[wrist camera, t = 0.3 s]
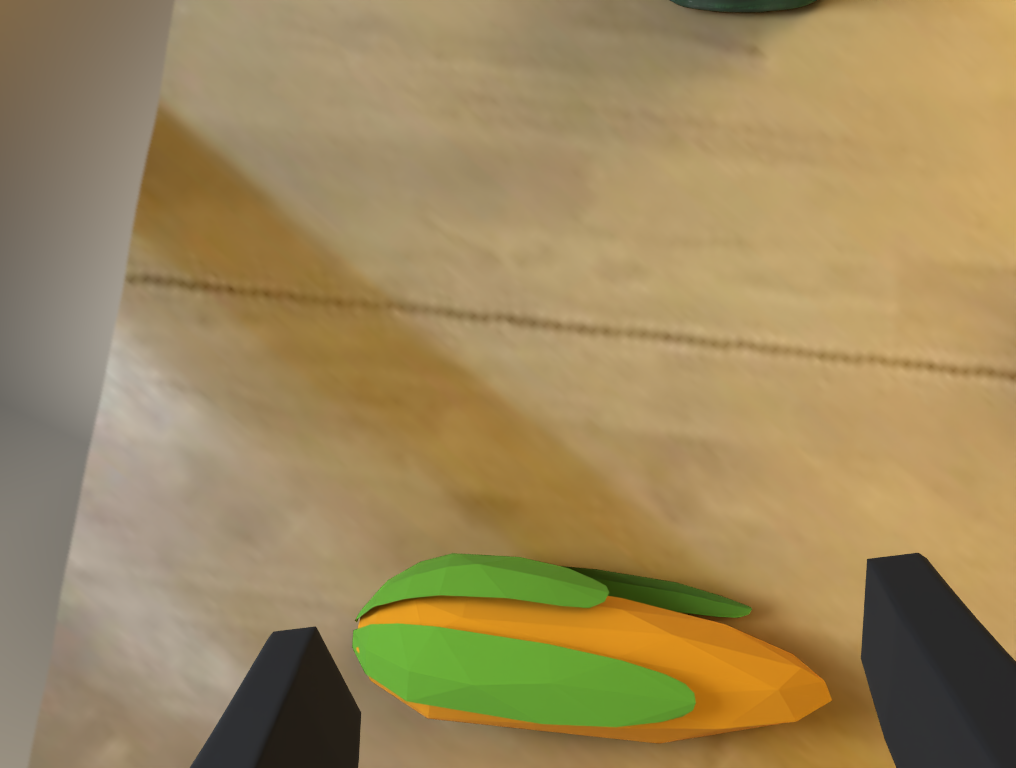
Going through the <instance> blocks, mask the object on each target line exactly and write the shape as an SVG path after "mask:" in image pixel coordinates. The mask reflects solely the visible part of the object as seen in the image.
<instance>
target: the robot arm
mask: <svg viewBox="0 0 1016 768" xmlns="http://www.w3.org/2000/svg"><path fill="white" fill-rule="evenodd" d="M861 660H862V664H863V667H864V671H865V674H866V678H867V681H868V684H869V688H870V691H871V695H872V698H873V702H874V705H875V709H876V712H877V715H878V718H879V722H880V725H881V728H882V732H883V735H884V738H885V741H886V743H887V746H888V748H889V751H890V753H891V756H892V758H893V760H894V763H895V765H896V768H1016V661H1015V660H1014V659H1013V658H1012V657H1011V656H1010V655H1009V654H1008V653H1007V652H1006V651H1005V649H1004V648H1003V647H1002V646H1001V645H1000V644H999V643H998V642H997V641H996V639H995V638H994V637H993V636H992V635H991V634H990V633H989V632H988V631H987V629H986V628H985V627H984V626H983V625H982V624H981V623H980V622H979V620H978V619H977V618H976V617H975V616H974V615H973V614H972V612H971V611H970V610H969V609H968V608H967V607H966V605H965V604H964V603H963V602H962V601H961V600H960V598H959V597H958V596H957V595H956V594H955V592H954V591H953V590H952V589H951V588H950V586H949V585H948V584H947V583H946V582H945V580H944V579H943V578H942V577H941V576H940V574H939V573H938V572H937V571H936V569H935V568H934V567H933V566H932V564H931V563H930V562H929V561H928V559H927V558H925V557H924V556H922V555H921V554H919V553H913V554H905V555H896V556H888V557H880V558H872V559H867V570H866V586H865V602H864V619H863V635H862V651H861ZM360 725H361V712H360V710H359V708H358V706H357V704H356V702H355V700H354V698H353V696H352V694H351V693H350V691H349V689H348V687H347V685H346V683H345V681H344V679H343V677H342V675H341V673H340V672H339V670H338V668H337V666H336V664H335V662H334V660H333V658H332V656H331V654H330V652H329V651H328V649H327V647H326V645H325V643H324V641H323V639H322V637H321V635H320V633H319V632H318V630H317V628H316V627H308V628H300V629H292V630H284V631H276V632H273V633H272V634H271V635H270V637H269V638H268V640H267V641H266V643H265V645H264V646H263V648H262V650H261V651H260V653H259V655H258V656H257V658H256V660H255V661H254V663H253V665H252V667H251V668H250V670H249V672H248V673H247V675H246V677H245V678H244V680H243V682H242V683H241V685H240V687H239V689H238V690H237V692H236V694H235V695H234V697H233V699H232V700H231V702H230V704H229V705H228V707H227V709H226V710H225V712H224V714H223V715H222V717H221V719H220V720H219V722H218V724H217V725H216V727H215V728H214V730H213V732H212V733H211V735H210V737H209V738H208V740H207V741H206V743H205V745H204V746H203V748H202V749H201V751H200V753H199V754H198V756H197V757H196V759H195V760H194V762H193V764H192V765H191V767H190V768H358V762H359V745H360Z"/></svg>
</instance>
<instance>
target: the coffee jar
mask: <svg viewBox="0 0 1016 768" xmlns="http://www.w3.org/2000/svg"><path fill="white" fill-rule="evenodd" d="M670 1H672V2H674V3H676V4H678V5H681V6H683V7H688V8H695V9H701V10H709V11H721V12H763V11H776V10H785V9H793V8H799V7H802V6H806V5H808V4H810V3H813V2H815V1H816V0H670Z"/></svg>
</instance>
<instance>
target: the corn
mask: <svg viewBox="0 0 1016 768" xmlns="http://www.w3.org/2000/svg"><path fill="white" fill-rule="evenodd" d="M751 610H752V609H751V607H749V606H747V605H744V604H742V603H739V602H736V601H733V600H731V599H728V598H725V597H722V596H719V595H716V594H713V593H709V592H706V591H703V590H699V589H696V588H693V587H690V586H686V585H683V584H680V583H676V582H670V581H664V580H658V579H652V578H646V577H640V576H634V575H628V574H622V573H616V572H609V571H603V570H597V569H587V568H575V567H564V566H556V565H552V564H548V563H543V562H539V561H534V560H530V559H526V558H521V557H509V556H491V555H473V554H455V553H453V554H449V555H445V556H441V557H437V558H433V559H429V560H425V561H421V562H419V563H418V564H416V565H414V566H412V567H410V568H409V569H407V570H405V571H403V572H402V573H400V574H398V575H396V576H395V577H393V578H391V579H389V580H388V581H387V582H386V583H385V584H384V585H383V586H382V587H381V588H380V589H379V590H378V592H377V593H376V594H375V595H374V596H373V597H372V598H371V600H370V601H369V602H368V603H367V604H366V605H365V606H364V608H363V609H362V610H361V611H360V613H359V615H358V616H357V618H356V620H355V621H356V622H357V621H358V618H359V617H360V616H361V617H360V622H359V626H358V629H356V630H353V645H352V648H353V650H354V652H355V654H356V656H357V658H358V660H359V662H360V664H361V666H362V668H363V670H364V672H365V674H367V675H368V676H369V678H370V680H371V681H372V682H374V683H375V684H377V685H378V686H380V687H381V688H383V689H384V690H386V691H387V692H389V693H390V694H392V695H393V696H395V697H396V698H398V699H399V700H401V701H402V702H404V703H405V704H407V705H408V706H410V707H411V708H413V709H414V710H416V711H417V712H419V713H420V714H422V715H423V716H425V717H426V718H429V719H438V720H447V721H456V722H465V723H475V724H484V725H493V726H502V727H512V728H521V729H530V730H539V731H548V732H558V733H567V734H576V735H585V736H594V737H604V738H613V739H622V740H631V741H640V742H650V743H665V742H671V741H677V740H684V739H690V738H696V737H702V736H708V735H714V734H720V733H726V732H733V731H739V730H745V729H751V728H757V727H763V726H769V725H775V724H782V723H788V722H795V721H798V720H800V719H801V718H803V717H805V716H806V715H808V714H810V713H811V712H813V711H815V710H817V709H818V708H820V707H822V706H823V705H825V704H827V703H828V702H830V701H832V699H831V696H830V694H829V691H828V688H827V686H826V683H825V681H824V680H823V679H821V678H820V677H819V676H818V675H817V674H816V673H814V672H813V671H812V670H811V669H810V668H809V667H807V666H806V665H805V664H804V663H803V662H802V661H800V660H799V659H798V658H797V657H796V656H795V655H793V654H791V653H789V652H787V651H784V650H782V649H780V648H778V647H775V646H773V645H771V644H769V643H766V642H764V641H762V640H760V639H757V638H755V637H753V636H750V635H748V634H746V633H744V632H741V631H739V630H737V629H735V628H732V627H730V626H728V625H725V624H722V623H718V622H714V621H710V620H706V619H702V618H698V617H694V616H690V615H686V614H683V613H689V614H698V615H706V616H714V617H732V618H739V617H742V616H745V615H748V614H749V613H750V612H751ZM679 612H681V613H679Z"/></svg>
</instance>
